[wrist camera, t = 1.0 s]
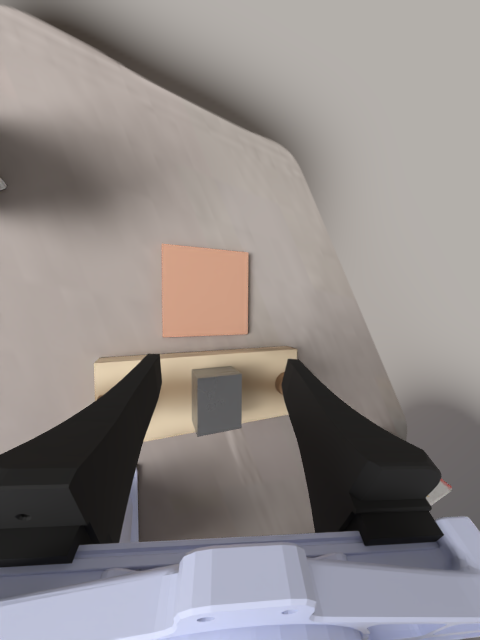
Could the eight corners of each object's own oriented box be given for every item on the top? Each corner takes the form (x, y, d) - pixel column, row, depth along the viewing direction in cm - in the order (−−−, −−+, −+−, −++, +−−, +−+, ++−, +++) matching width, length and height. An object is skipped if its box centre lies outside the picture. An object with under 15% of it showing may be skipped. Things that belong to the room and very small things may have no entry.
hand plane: (285, 405, 29) (305, 420, 25) (101, 437, 21) (91, 464, 18) (286, 346, 28) (307, 351, 24) (99, 357, 21) (88, 368, 17)
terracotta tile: (245, 333, 26) (247, 334, 26) (162, 336, 23) (162, 337, 22) (246, 253, 26) (248, 252, 25) (161, 245, 22) (161, 243, 22)
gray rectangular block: (230, 413, 24) (241, 427, 21) (191, 420, 22) (197, 436, 19) (231, 365, 23) (241, 373, 20) (191, 369, 22) (197, 378, 19)
